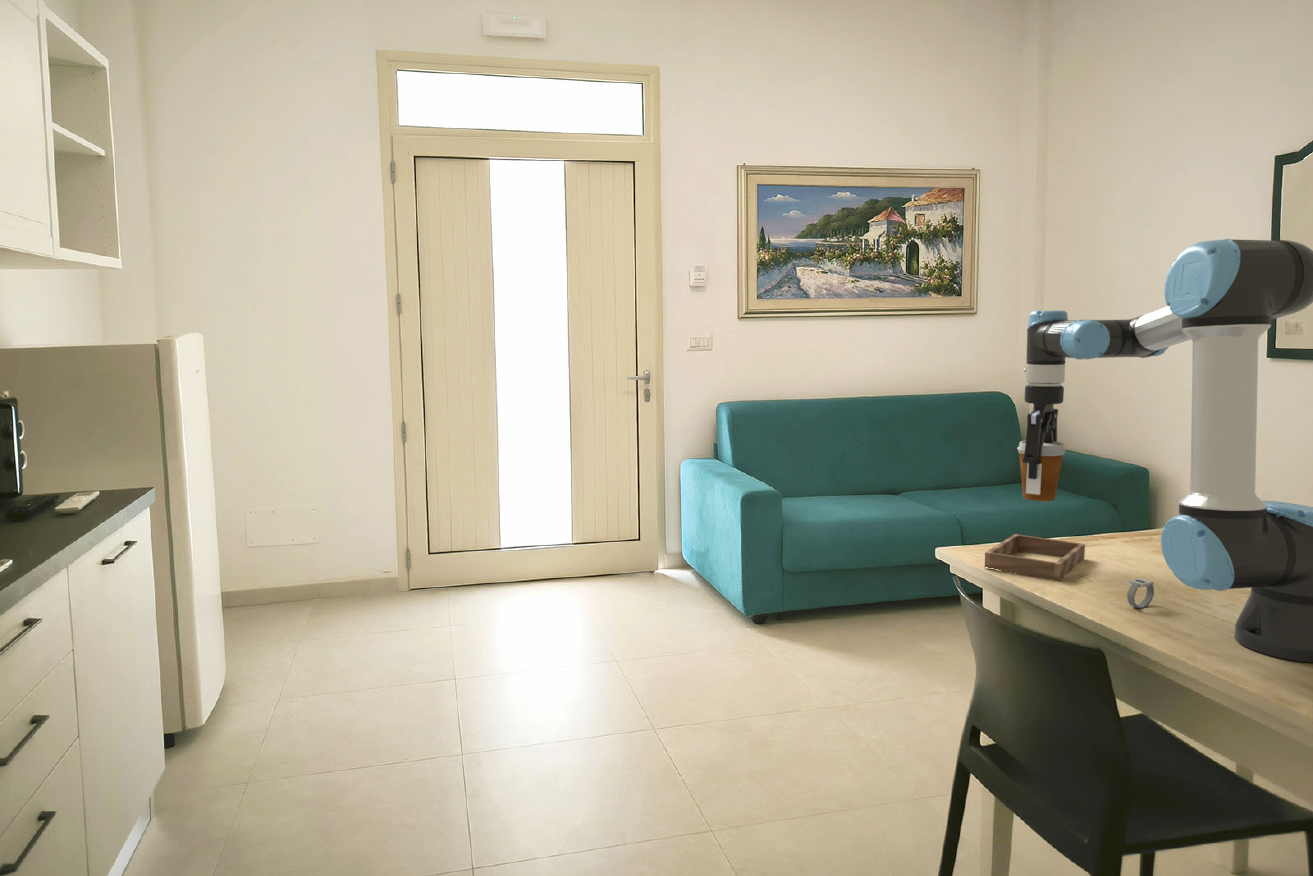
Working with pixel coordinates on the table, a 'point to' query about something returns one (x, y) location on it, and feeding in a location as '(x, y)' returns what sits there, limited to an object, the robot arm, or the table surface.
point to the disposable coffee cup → (1044, 470)
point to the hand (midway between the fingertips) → (1039, 490)
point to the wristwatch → (1133, 588)
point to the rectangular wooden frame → (1055, 571)
